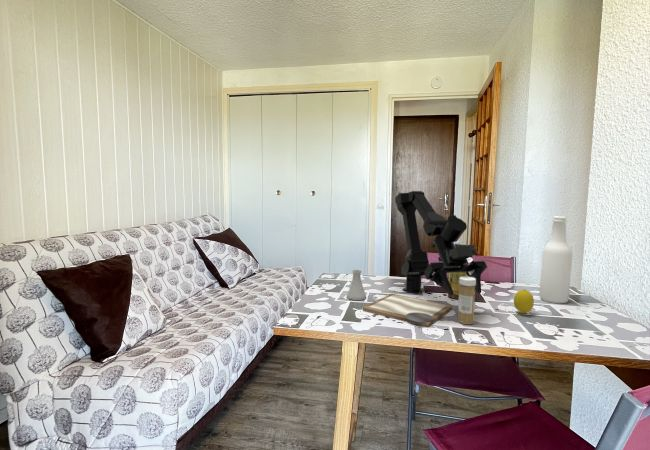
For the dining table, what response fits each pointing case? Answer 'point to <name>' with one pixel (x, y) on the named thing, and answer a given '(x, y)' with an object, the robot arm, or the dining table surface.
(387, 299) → the beige tray
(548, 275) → the alcohol
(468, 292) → the sprinkles bottle
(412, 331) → the dining table surface
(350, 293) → the flask
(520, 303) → the lemon
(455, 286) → the sauce bottle
